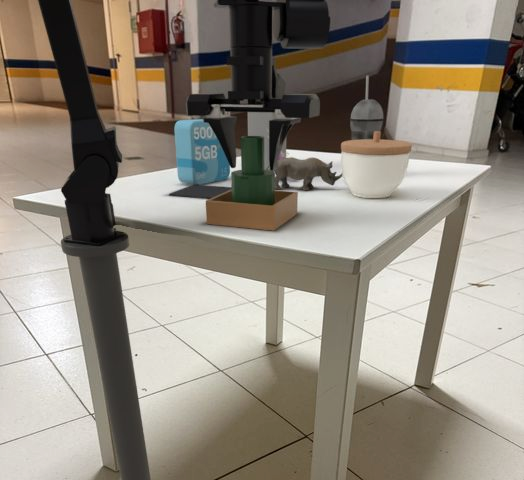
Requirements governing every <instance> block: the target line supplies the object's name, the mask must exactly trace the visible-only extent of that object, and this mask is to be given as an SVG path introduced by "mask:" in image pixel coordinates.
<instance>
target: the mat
mask: <svg viewBox="0 0 524 480" xmlns="http://www.w3.org/2000/svg"><path fill="white" fill-rule="evenodd" d="M231 189H232V186H220V185H219V186H217V185H204V184H199V185H196V184H191V185H189V186H187V187H184V188H181V189H178V190H176V191H172V192H171V193H169V194H168V196H172V197H181V198H183V197H184V198H193V199H194V198H195V199H206V200H209V199H211V198H213V197H215V196H218V195H220V194H222V193H224V192H227V191H229V190H231Z"/></svg>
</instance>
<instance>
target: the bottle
mask: <svg viewBox="0 0 524 480" xmlns="http://www.w3.org/2000/svg"><path fill="white" fill-rule="evenodd" d="M240 166H241V168H240V169H237V170H234V171H230V180H231V181H230V182H231V183H230V184H231V186H230V187H232V202H235V203H247V204H259V205H271V206H273V205H274V204H275V190H276V189H275V177H276V174H275V171H271V170H264V137H263V136H248V135H243V136H240Z"/></svg>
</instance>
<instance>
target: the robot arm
mask: <svg viewBox="0 0 524 480" xmlns="http://www.w3.org/2000/svg"><path fill="white" fill-rule="evenodd" d="M37 2H38V6H39V9H40V13H41V17H42V21H43V24H44V28H45V32H46V36H47V38H48V39H47V40H48V43H49V46H50V49H51V54H52V57H53V61H54V65H55V68H56V71H57V75H58V79H59V82H60V86H61V90H62V94H63V97H64V98H63V99H64V101H65V104H66V109H67V111H68V112H67V113H68V116H69V122H70V123H69V124H70V141H71V142H70V145H71V153H72V162H73V170H72V172H71V173H70V174H69V176H67V178H66V180H65V181H64V183H63V185H62V186H61V189H60V192H61V193H62V195H63V197H64V205H65V210H66V215H67V221H68V226H69V232H70V235H71V236H69V235H68V236H69V237H67V238H64V237H63V238H64V242H67V243H75V244H83V245H91V246H102V245H104V244H106V243H108V242H111V241H113V240H115V239H117V238H120V237H122V236H124V235H125V234H124V233H125V231H121V230H117V228H116V224H117V223H116V217H115V210H114V204H113V202H112V197H111V193H107V192H106V190H107V189H108V188H109V187H111V186H112V185H114V183H115V181H116V180H117V179H118V175H119V167H120V164H122V163H123V153H121V151H120V149H119V146H118V143H117V130H116V126H111V127H108V128H106V126H105V124H104V122H103V121H104V120H102V117H101V115H100V113H99V109H98V105H97V101H96V97H95V96H96V95H95V93H94V89H93V84H92V80H91V77H90V72H89V68H88V64H87V59H86V57H85V51H84V47H83V43H82V39H81V36H80V31H79V28H78V23H77V20H76V15H75V12H74V11H75V10H74V8H73V3H72V0H37ZM213 7H214V8H215V9H228V13H229V14H228V17H229V18H228V19H229V51H230V53H229V54H230V55H229V56H226V66H230V83H231V90H228V91H227V97H226V95H225V93H222V92H220V93H219V92H218V93H216V92H215V93H214V92H211V93H209V92H208V93H204V92H202V93H189V95H188V96H187V99H186V100H185V112H186V116H191V117H204V118H202V119H203V122H204V123H209V125H210V127H211V128H212V130H213V132H214V133H215V135H216V137H217V139H218V141H219V143H220V145H221V147H222V149H223V151H224V154H225V156H226V158H227V160H228V162H229V165H230V169H235V168H236V167H237V147H236V134H235V132H236V131H235V128H236V123H237V118H238V117H237V116H231V113H248V112H272V113H275V115H276V119H274V120H269V164H270V170H271V171H273V170H275V168H276V165H277V162H278V159H279V156H280V153H281V150H282V147H283V144H284V141H285V139H286V140H287V136H288V134H289V132H290V131H291V129H292V128H293V126H294V124H299V123H301V121H302V119H310V118H314V117H320V111H321V101H320V98H319V96H318V95H317V93H288V94H285V93H286V84H287V82H286V80H285V79H284V78H283V77H282V75H280V73H278V72H277V67H276V57H275V56H273V37H274V39H275V40H276V42H280V46H281V48H282V49H298V50H299V49H303V50H304V49H305V50H306V49H307V50H308V49H309V50H311V49H313V50H314V49H316V50H318V49H319V50H322V49H324V48H325V47H326V46H327V42H328V39H329V36H330V31H331V30H330V29H331V16H330V11H329V5H328V2H327V0H267V1H266V0H214V1H213ZM245 100H247V102H246V103H245V102H244V103H243V102H242V101H245ZM241 102H242V103H241ZM119 163H120V164H119ZM120 231H121V232H120Z"/></svg>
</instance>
